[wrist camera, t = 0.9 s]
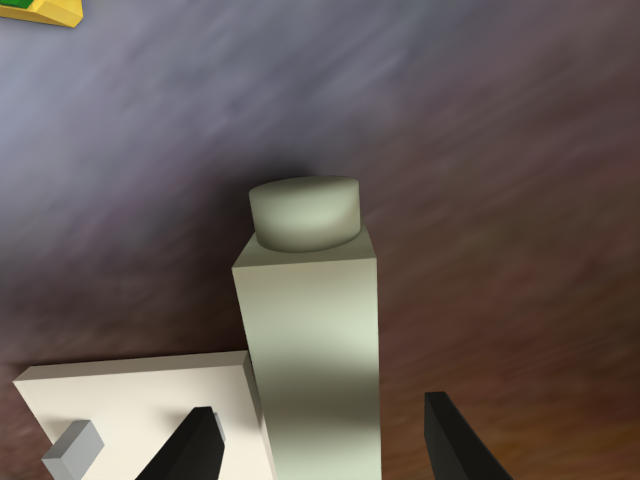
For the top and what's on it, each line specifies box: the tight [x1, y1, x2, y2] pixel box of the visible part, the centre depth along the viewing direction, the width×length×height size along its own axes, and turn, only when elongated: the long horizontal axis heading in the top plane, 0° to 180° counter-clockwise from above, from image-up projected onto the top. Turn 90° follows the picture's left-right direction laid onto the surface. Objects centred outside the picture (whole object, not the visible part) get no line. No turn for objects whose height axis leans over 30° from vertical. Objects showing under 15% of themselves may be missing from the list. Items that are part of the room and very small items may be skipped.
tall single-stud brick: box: [232, 176, 381, 480], centre depth 13 cm, size 14×4×5 cm, turn 5°
